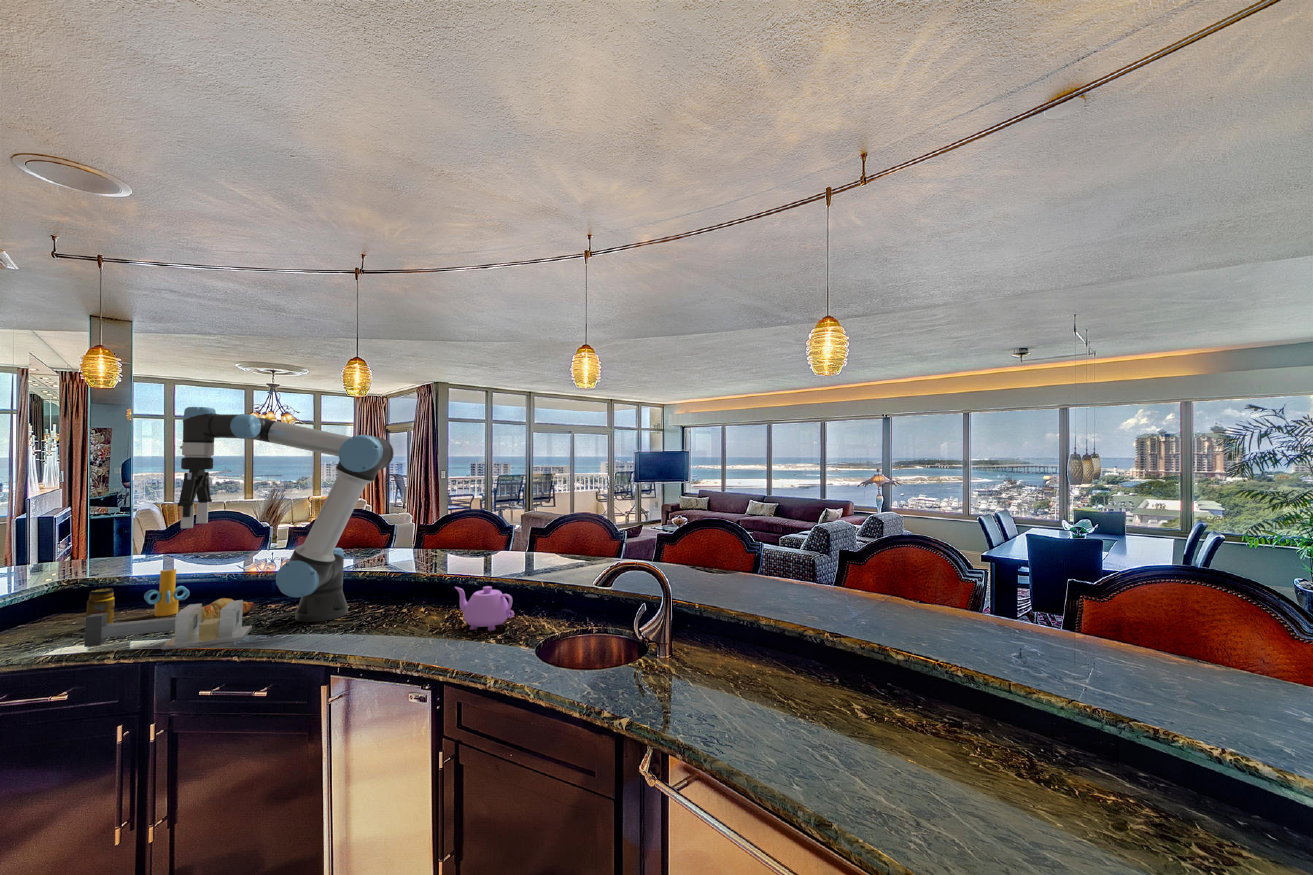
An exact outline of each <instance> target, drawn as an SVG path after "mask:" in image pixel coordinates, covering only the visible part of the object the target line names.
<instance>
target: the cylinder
mask: <svg viewBox="0 0 1313 875" xmlns="http://www.w3.org/2000/svg"><path fill="white" fill-rule="evenodd" d="M159 573H160V574H159V575H160V576H159V590H157V589H150V590H148V591H146V592H145V593H144V595H143V598H144V600H145V601H146V603H147V604H148V605H151V606H152V605H154V613H153V616H154V617H168V616H173V615H176V614H177V613H178V612H179V601H185V600H186V599H188V598H189V596H190V590H189V589H188V588H186V587H185V586H183V585H180V586H177V587H176V581H177V569H176V568H170V569H169V568H167V569H162V570H160V572H159ZM180 591H183V592H182V594H181V595H179V596H178V593H179V592H180ZM153 595H156V597H155V599H151V598H152V596H153Z"/></svg>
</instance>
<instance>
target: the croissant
mask: <svg viewBox="0 0 1313 875" xmlns="http://www.w3.org/2000/svg"><path fill="white" fill-rule="evenodd" d="M230 601H234V599H232V598H230V597H229V598H227V597H226V598H225V597H222V598H219V599H216V600H215V601H213V602H211V603H210V604H207V605H205V606H202V615H201V623H202V622H203V621H205V620H206V619H215V618H220V610H221V609H222V608H223V607H224V606H226V605H227V604H228V603H229V602H230ZM254 606H255V602H251V601H250V602H248V601H243V610H242V615H243V614H246V613H247V612H249V611H250V610H252V608H253V607H254Z"/></svg>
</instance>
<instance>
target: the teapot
mask: <svg viewBox="0 0 1313 875" xmlns="http://www.w3.org/2000/svg"><path fill="white" fill-rule="evenodd" d="M454 588H455V590H457V592H458V594H459V608H460V610H461V611H462V613H463V620H464V621H465V622H466V624H468V626H470V627H469V630H470V631H474V630H478V628H479V627H480V628H481V627H482V628H483V627H484V628H485V627H487V631H489V632H490V631H491V632H493V631H496V629H497V628H496V626H500V625H504V623H505V622H506V620H507V619H508V618H509V619H511V618H513V617H514V616H515V612H514V610H512V609H511V608H512V605H513V597H512V595H510V594H508V593H502V591H501V590H499V589H493V586H491V585H490V586H489V585H487V586H486V585H485V586H483V587H482V589H481V590H477V591H475V592H474V593H473V594H472V595H471V596H470V598H469V600H468V601H467V599H466V594H465V591H464V589H463V588H461V587H459V586H454ZM506 598H507V599H508V601H507V599H506Z"/></svg>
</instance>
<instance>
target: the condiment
mask: <svg viewBox="0 0 1313 875" xmlns="http://www.w3.org/2000/svg"><path fill="white" fill-rule="evenodd" d="M88 594H89V596H88V600H87V601H86V602H87V603H86V611H85V612H86V614H85V616H86V617H87V616H89V615H91V614H100V613H108V615H107V624H110V623H114V620H115V619H114V618H115V602H116V601H115V599H116V598H115V596H114V589H113V588H99V589H94V590H91V591H90V592H89V593H88ZM86 617H85V618H86ZM81 634H82V635H83V634H84V635H85V628H84V629H81V630H78V631H77V632H76V631H75V632H74V633H72V635H81Z"/></svg>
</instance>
